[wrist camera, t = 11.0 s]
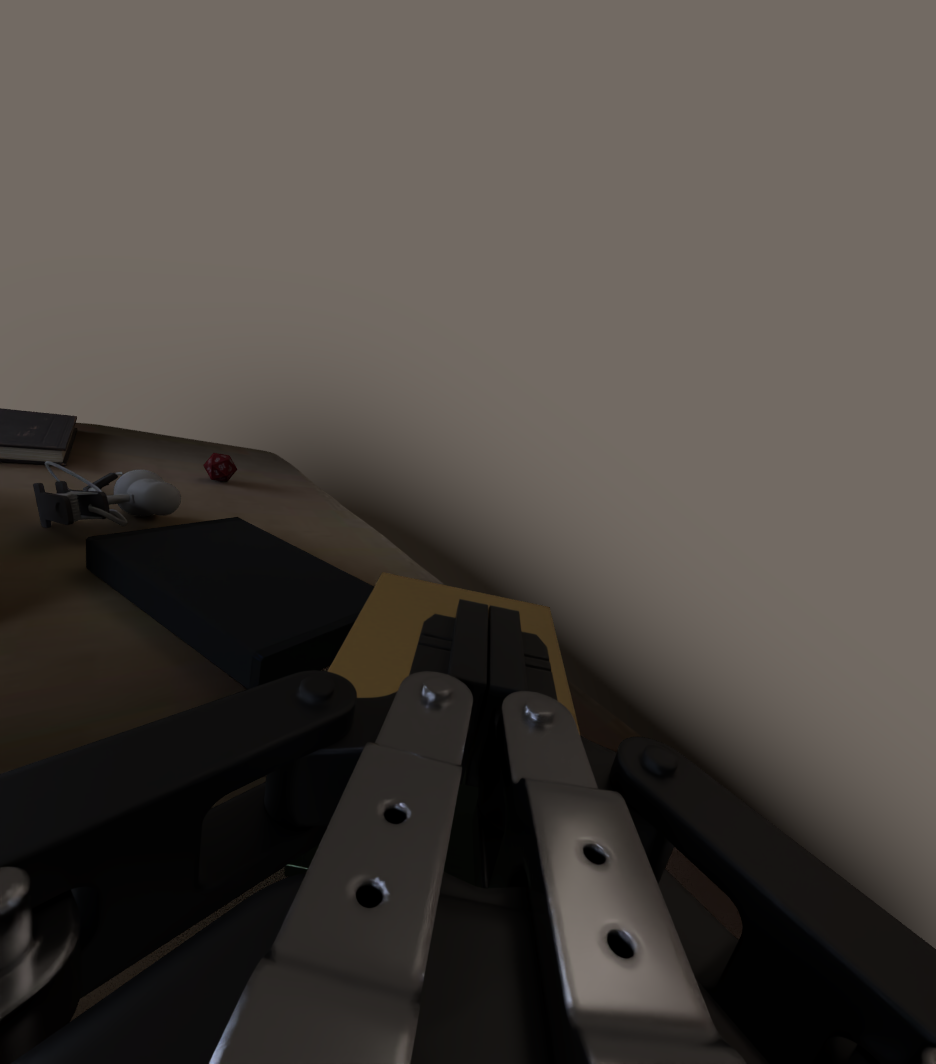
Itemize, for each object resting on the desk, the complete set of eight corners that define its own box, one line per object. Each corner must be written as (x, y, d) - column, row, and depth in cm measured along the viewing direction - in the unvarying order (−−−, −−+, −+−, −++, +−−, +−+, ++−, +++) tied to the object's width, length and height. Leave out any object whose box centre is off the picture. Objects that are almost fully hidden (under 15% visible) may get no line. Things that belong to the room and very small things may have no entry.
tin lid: (381, 580, 35) (382, 571, 35) (547, 614, 35) (549, 606, 35) (304, 721, 21) (306, 708, 21) (584, 778, 21) (588, 766, 21)
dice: (235, 486, 76) (237, 458, 75) (200, 482, 74) (202, 454, 73) (237, 479, 79) (239, 453, 78) (204, 475, 78) (205, 448, 76)
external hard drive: (237, 543, 57) (239, 516, 56) (400, 632, 46) (406, 601, 45) (86, 570, 45) (85, 537, 44) (257, 699, 34) (262, 659, 33)
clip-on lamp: (26, 519, 59) (56, 542, 46) (14, 461, 57) (41, 469, 45) (145, 504, 67) (197, 521, 54) (137, 454, 65) (189, 459, 53)
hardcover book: (77, 430, 87) (76, 416, 86) (65, 466, 69) (65, 448, 68) (-58, 418, 78) (-59, 402, 78) (-110, 455, 60) (-113, 435, 60)
